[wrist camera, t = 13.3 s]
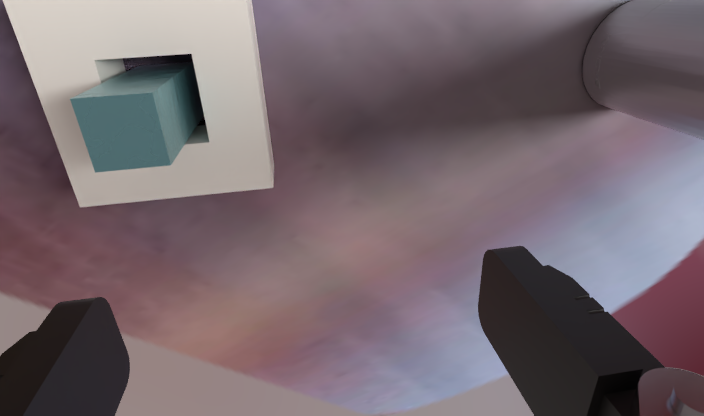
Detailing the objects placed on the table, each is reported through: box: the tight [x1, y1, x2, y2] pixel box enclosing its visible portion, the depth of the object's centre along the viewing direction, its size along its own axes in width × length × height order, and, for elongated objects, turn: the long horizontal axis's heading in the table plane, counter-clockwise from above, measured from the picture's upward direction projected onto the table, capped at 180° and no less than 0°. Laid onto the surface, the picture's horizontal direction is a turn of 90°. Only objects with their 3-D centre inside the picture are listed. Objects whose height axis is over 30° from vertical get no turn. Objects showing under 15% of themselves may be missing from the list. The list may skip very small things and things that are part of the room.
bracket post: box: [70, 62, 204, 173], centre depth 28 cm, size 4×4×12 cm
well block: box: [3, 0, 274, 207], centre depth 31 cm, size 14×14×5 cm
